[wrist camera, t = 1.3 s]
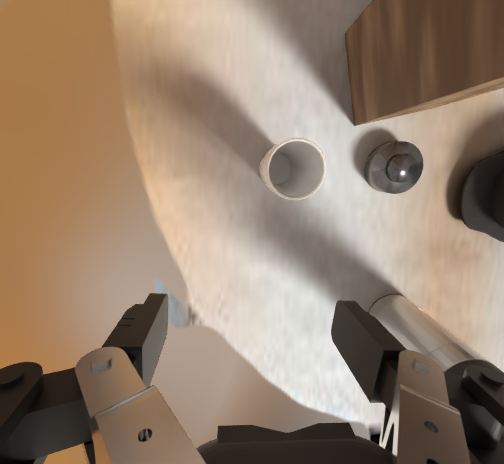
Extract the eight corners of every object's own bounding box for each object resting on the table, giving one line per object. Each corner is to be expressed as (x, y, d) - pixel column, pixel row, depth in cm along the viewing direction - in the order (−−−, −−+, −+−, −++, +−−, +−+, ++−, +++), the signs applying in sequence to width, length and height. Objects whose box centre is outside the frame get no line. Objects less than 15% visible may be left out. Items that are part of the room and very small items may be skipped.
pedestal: (429, 14, 38) (1261, -625, 7) (432, 108, 42) (1009, -59, 11) (344, 33, 38) (826, -538, 7) (354, 125, 41) (709, 8, 10)
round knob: (419, 157, 43) (438, 156, 39) (392, 199, 45) (408, 203, 41) (382, 134, 42) (398, 130, 38) (355, 178, 44) (368, 179, 40)
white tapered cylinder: (299, 182, 43) (332, 191, 29) (260, 194, 43) (274, 208, 29) (289, 141, 41) (320, 128, 27) (249, 153, 41) (258, 147, 27)
